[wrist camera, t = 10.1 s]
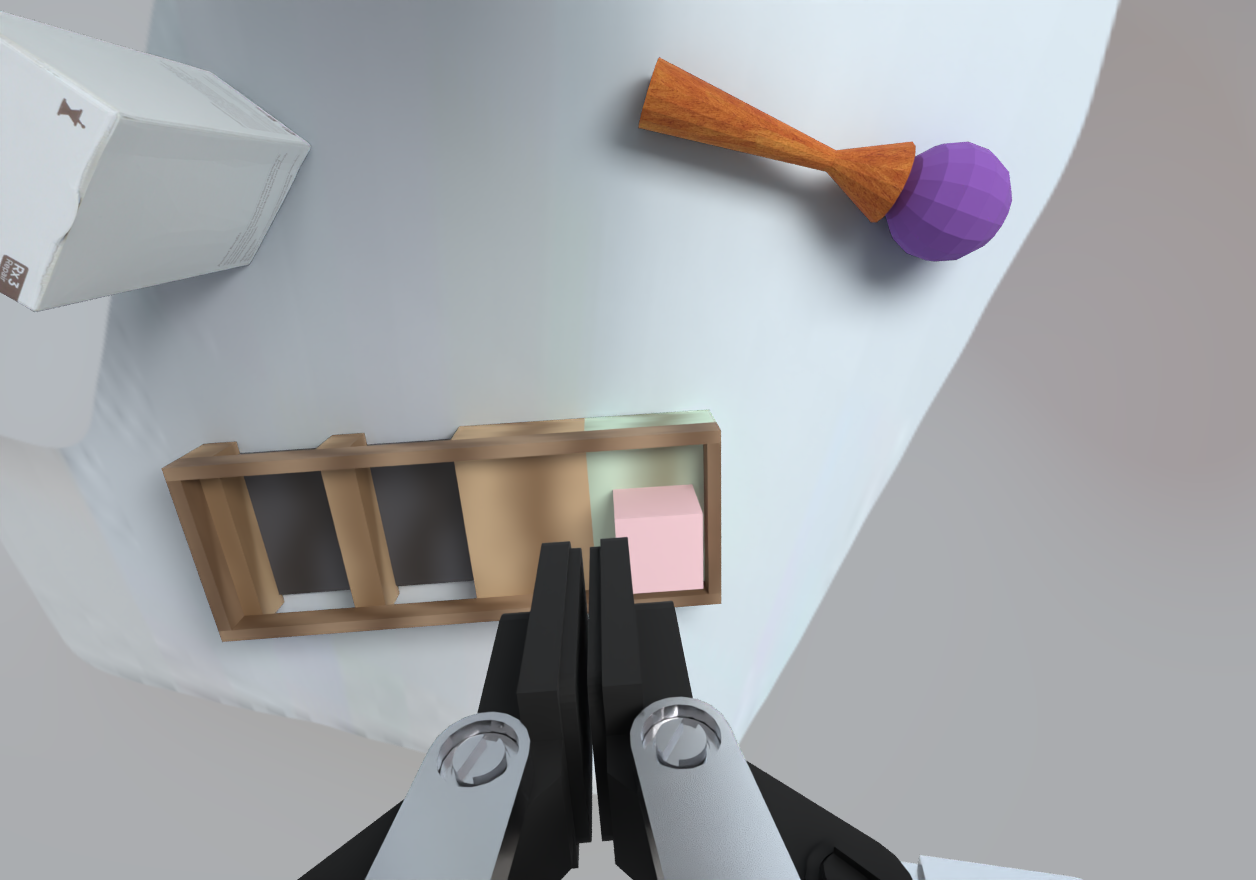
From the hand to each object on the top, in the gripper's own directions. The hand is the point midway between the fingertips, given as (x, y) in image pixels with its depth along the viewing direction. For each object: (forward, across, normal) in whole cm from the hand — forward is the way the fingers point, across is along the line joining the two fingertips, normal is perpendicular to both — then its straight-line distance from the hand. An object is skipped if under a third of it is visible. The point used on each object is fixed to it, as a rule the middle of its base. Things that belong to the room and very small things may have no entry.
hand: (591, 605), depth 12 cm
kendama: (+28, -13, -9) cm, 32 cm away
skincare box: (+27, +19, -10) cm, 35 cm away
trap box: (+27, +9, +11) cm, 31 cm away
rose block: (+25, -3, +12) cm, 27 cm away
